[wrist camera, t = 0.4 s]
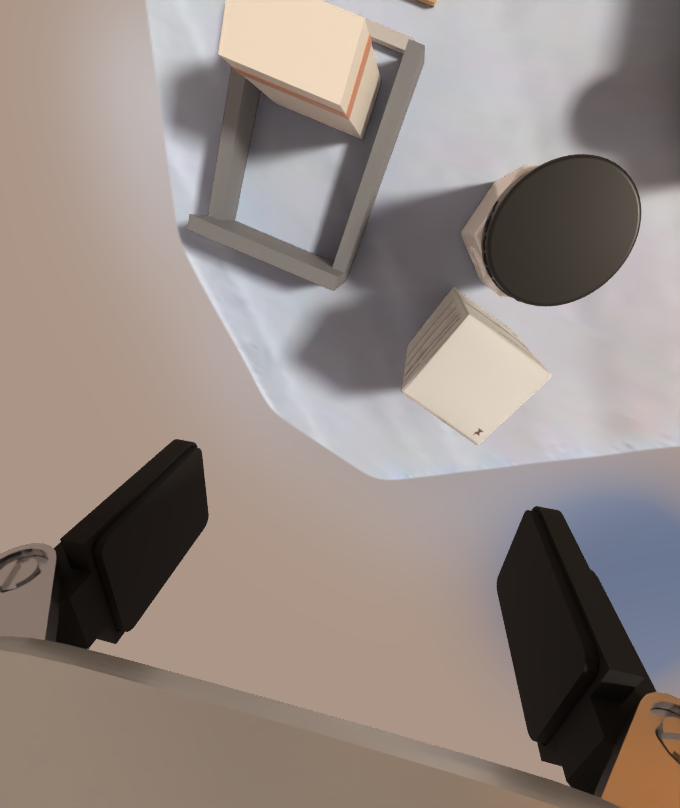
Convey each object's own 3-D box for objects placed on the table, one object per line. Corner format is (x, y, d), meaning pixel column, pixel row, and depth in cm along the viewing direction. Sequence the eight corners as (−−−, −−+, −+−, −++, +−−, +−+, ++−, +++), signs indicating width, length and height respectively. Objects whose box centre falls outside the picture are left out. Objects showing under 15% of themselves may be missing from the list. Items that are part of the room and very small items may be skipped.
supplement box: (513, 329, 35) (558, 378, 24) (460, 385, 38) (476, 450, 27) (453, 283, 34) (470, 310, 23) (404, 344, 38) (398, 394, 26)
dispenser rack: (265, -19, 28) (229, -77, 22) (428, 49, 27) (431, 7, 22) (221, 228, 36) (187, 229, 31) (345, 281, 36) (333, 290, 31)
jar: (447, 209, 32) (462, 202, 21) (546, 151, 29) (619, 108, 18) (485, 301, 34) (515, 335, 24) (579, 256, 31) (660, 272, 21)
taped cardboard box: (288, 41, 29) (230, -40, 20) (382, 81, 29) (366, 17, 20) (274, 104, 31) (217, 55, 22) (362, 140, 31) (340, 106, 22)
